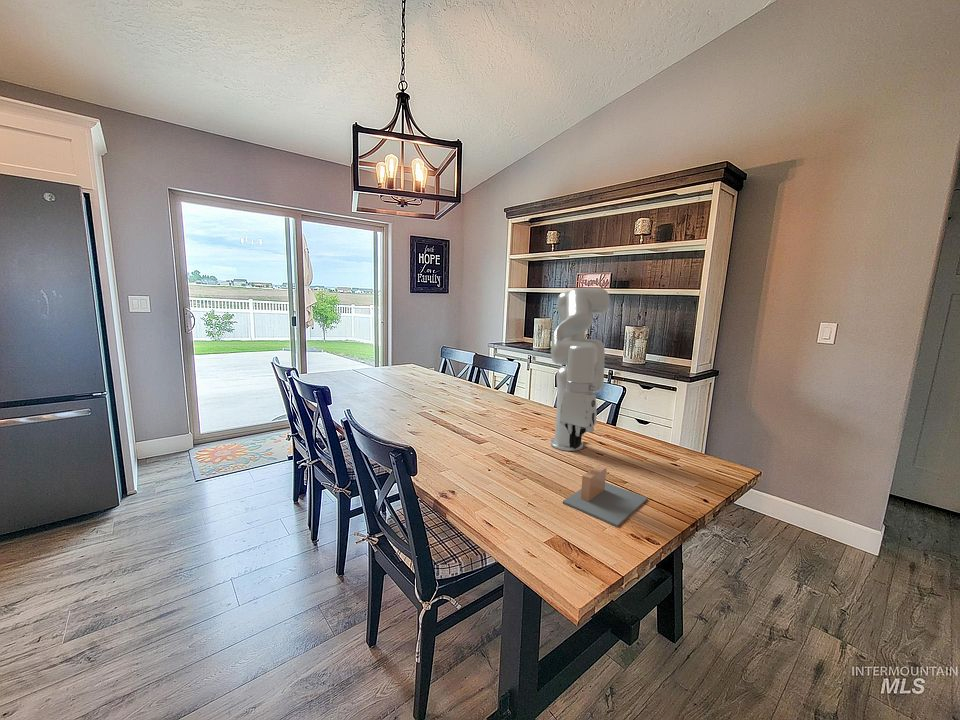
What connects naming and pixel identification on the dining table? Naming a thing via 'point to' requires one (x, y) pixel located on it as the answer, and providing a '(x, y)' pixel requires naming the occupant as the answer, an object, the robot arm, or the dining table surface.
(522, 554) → the dining table surface
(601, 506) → the rubber mat
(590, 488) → the terracotta tile
